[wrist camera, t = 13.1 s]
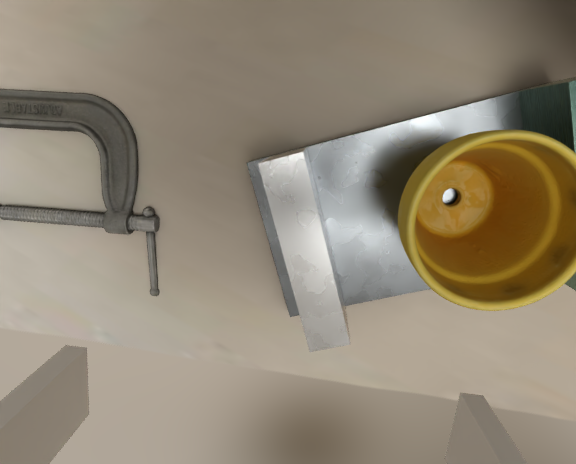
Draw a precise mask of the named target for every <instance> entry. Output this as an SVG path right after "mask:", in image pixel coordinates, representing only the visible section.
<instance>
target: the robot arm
mask: <svg viewBox="0 0 576 464" xmlns="http://www.w3.org/2000/svg"><path fill="white" fill-rule="evenodd" d="M88 415H89V397H88V369H87V348H84V347H76V346H67V345H66V346H64V347H63V348H62V349H61V350H60V351H59V352H57V353H56V354H55V355H54V356H53V357H51V358H50V359H49V360H48V361H47V362H46V363H45V364H43V365H42V366H41V367H40V368H38V369H37V370H36V371H35V372H34V373H33V374H32V375H30V376H29V377H28V378H27V379H26V380H25V381H24V382H22V383H21V384H20V385H19V386H17V387H16V388H15V389H14V390H13V391H11V392H10V393H9V394H8V395H7V396H6V397H4V399H2V400H1V401H0V464H49V463H50V462H51V461H52V460H53V458H54V457H55V456H56V455H57V453H58V452H59V451H60V450H61V448H62V447H63V446H64V444H65V443H66V442H67V441H68V440H69V438H70V437H71V436H72V435H73V433H74V432H75V431H76V430H77V428H78V427H79V426H80V425H81V423H82V422H83V421H84V420H85V418H86V417H87V416H88ZM445 461H446V463H447V464H527V462H526V460H525V459H524V457H523V456H522V454H521V453H520V451H519V450H518V448H517V447H516V445H515V444H514V442H513V440H512V439H511V438H510V436H509V434H508V433H507V431H506V430H505V428H504V427H503V425H502V424H501V422H500V421H499V419H498V418H497V416H496V415H495V413H494V412H493V410H492V409H491V407H490V405H489V404H488V402H487V401H486V399H485V398H484V396H483V395H475V394H466V393H460V396H459V401H458V405H457V409H456V413H455V418H454V422H453V426H452V430H451V435H450V439H449V443H448V447H447V452H446V456H445Z"/></svg>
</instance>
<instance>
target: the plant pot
mask: <svg viewBox="0 0 576 464" xmlns="http://www.w3.org/2000/svg"><path fill="white" fill-rule="evenodd" d="M448 189H454V190H456V191H457V193H458V198H457V200H456V201H455V202H454V203H453V204H451V205H447V204H445V203H444V202H443V194H444V192H445V191H446V190H448ZM398 229H399V235H400V239H401V242H402V245H403V248H404V250H405V252H406V254H407V256H408V258H409V260H410V262H411V264H412V265H413V267H414V268H415V270H416V272H417V273H418V275H419V276H420V277H421V278H422V280H423V281H424V282H425V283H426V284H427V285H428V286H429V287H430V288H431V289H432V290H433V291H434V292H436V293H437V294H438V295H440V296H441V297H443V298H445V299H446V300H448V301H450V302H453V303H455V304H457V305H460V306H463V307H467V308H471V309H476V310H486V311H499V310H508V309H514V308H518V307H522V306H525V305H528V304H531V303H534V302H536V301H538V300H540V299H542V298H544V297H546V296H548V295H549V294H551V293H553V292H554V291H556V290H557V289H558V288H560V287H561V286H562V285H563V284H565V283H566V282H567V281H568V280H569V279H570V278H571V277H572V276H573V275H574V274H575V272H576V153H575V152H574V151H572V150H571V149H570V148H568V147H567V146H566V145H564V144H563V143H561V142H559V141H557V140H555V139H553V138H551V137H548V136H546V135H543V134H540V133H536V132H531V131H525V130H491V131H483V132H477V133H472V134H468V135H465V136H462V137H459V138H456V139H454V140H452V141H450V142H448V143H446V144H444V145H442V146H441V147H439V148H438V149H436V150H435V151H434V152H432V153H431V154H430V155H429V156H427V157H426V158H425V159H424V160H423V161H422V162H421V163H420V165H419V166H418V167H417V168H416V169H415V171H414V172H413V174H412V175H411V177H410V178H409V180H408V182H407V184H406V186H405V188H404V191H403V193H402V196H401V200H400V204H399V210H398Z"/></svg>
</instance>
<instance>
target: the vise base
mask: <svg viewBox="0 0 576 464" xmlns="http://www.w3.org/2000/svg"><path fill="white" fill-rule="evenodd" d="M491 130H525V131H531V132H536V133H540V134H543V135H546V136H548V137H551V138H553V139H555V140H557V141H559V142H561V143H563V144H564V145H566V146H567V147H568V148H570V149H571V150H572V151H574V152H575V153H576V77H574V78H569V79H564V80H559V81H554V82H549V83H545V84H542V85H538V86H534V87H530V88H526V89H523V90H519V91H515V92H511V93H508V94H504V95H500V96H496V97H492V98H489V99H485V100H481V101H477V102H473V103H470V104H466V105H462V106H458V107H454V108H451V109H447V110H443V111H439V112H435V113H432V114H428V115H424V116H420V117H416V118H413V119H409V120H405V121H401V122H397V123H394V124H390V125H386V126H382V127H378V128H375V129H371V130H367V131H363V132H360V133H356V134H352V135H348V136H344V137H341V138H337V139H333V140H329V141H325V142H322V143H318V144H314V145H310V146H306V147H303V148H307V152H308V156H309V160H310V164H311V168H312V172H313V176H314V180H315V184H316V188H317V193H318V197H319V201H320V205H321V209H322V213H323V217H324V221H325V225H326V229H327V233H328V238H329V242H330V246H331V250H332V254H333V258H334V262H335V266H336V270H337V274H338V278H339V283H340V287H341V291H342V295H343V299H344V303H345V306H347V305H352V304H357V303H362V302H367V301H372V300H377V299H382V298H387V297H392V296H397V295H402V294H407V293H412V292H417V291H422V290H427V289H431V288H430V287H429V286H428V285H427V284H426V283H425V282H424V281H423V280H422V278H421V277H420V276H419V275H418V273H417V272H416V270H415V268H414V267H413V265H412V264H411V262H410V260H409V258H408V256H407V254H406V252H405V250H404V248H403V245H402V242H401V239H400V235H399V229H398V210H399V204H400V200H401V196H402V193H403V191H404V188H405V186H406V184H407V182H408V180H409V178H410V177H411V175H412V174H413V172H414V171H415V169H416V168H417V167H418V166H419V165H420V163H421V162H422V161H423V160H424V159H425V158H426V157H427V156H429V155H430V154H431V153H432V152H434V151H435V150H436V149H438V148H439V147H441V146H442V145H444V144H446V143H448V142H450V141H452V140H454V139H456V138H459V137H462V136H465V135H468V134H472V133H477V132H483V131H491ZM299 149H302V148H299ZM295 150H298V149H295ZM291 151H294V150H291ZM287 152H290V151H287ZM287 152H284V153H287ZM280 154H283V153H280ZM276 155H279V154H276ZM272 156H275V155H272ZM269 157H271V156H268V157H265V158H261V159H257V160H253V161H250V162H247V166H248V170H249V173H250V177H251V180H252V184H253V187H254V191H255V194H256V198H257V202H258V205H259V209H260V212H261V216H262V219H263V223H264V226H265V230H266V233H267V237H268V240H269V244H270V248H271V251H272V255H273V258H274V262H275V265H276V269H277V272H278V276H279V279H280V283H281V286H282V290H283V294H284V297H285V301H286V304H287V308H288V311H289V315H290V317H292V316H297V315H300V314H299V311H298V307H297V303H296V300H295V296H294V293H293V289H292V285H291V282H290V278H289V274H288V271H287V267H286V264H285V260H284V256H283V253H282V249H281V246H280V242H279V238H278V235H277V231H276V227H275V224H274V220H273V217H272V213H271V209H270V206H269V202H268V198H267V195H266V191H265V188H264V184H263V180H262V177H261V173H260V169H259V166H258V163H260V162H262V161H263V160H265V159H267V158H269ZM457 198H458V193H457V191H456V190H454V189H448V190H446V191H445V192H444V194H443V202H444V203H445V204H447V205H451V204H453V203H454V202H455V201H456V200H457ZM565 284H566V285H568V286H569V287H571V288H572V289H574V290H575V291H576V272H575V274H574V275H573V276H572V277H571V278H570V279H569V280H568V281H567V282H566V283H565Z"/></svg>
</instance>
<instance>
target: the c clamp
mask: <svg viewBox="0 0 576 464" xmlns="http://www.w3.org/2000/svg"><path fill="white" fill-rule="evenodd" d="M0 127H7V128H21V129H39V130H57V131H78V132H82V133H84V134H86V135H88V136H89V137H90V138H91V139H92V140H93V141H94V143H95V144H96V146H97V148H98V151H99V153H100V163H101V182H102V196H103V200H104V203H105V206H106V208H107V211H106V213H100V212H98V213H97V212H89V211H88V212H86V211H84V212H83V211H75V210H74V211H73V210H62V209H60V210H59V209H52V208H51V209H49V208H38V207H37V208H35V207H33V208H32V207H22V206H10V205H9V206H8V205H5V206H2V205H0V218H1V219H3V220H14V221H24V222H25V221H27V222H37V223H50V224H64V225H66V224H67V225H75V226H76V225H77V226H88V227H90V226H91V227H102V228H104V229H105V231H106V232H108V233H116V234H131V233H132V232H133V231H134V230H137V231H138V230H139V231H146V235H147V247H148V259H149V271H150V282H151V289H150V294H151V295H152V296H157V295H159V289H158V277H157V263H156V251H155V239H154V237H155V235H154V232H157V231H158V229H159V218H158V217H157V216H155V215H154V210H153V209H152V208H151V207H148V208H145V209H144V210H143V215H142V216H141V215H140V216H138V215H133V212H132V206H133V203H134V198H135V193H136V186H137V172H138V160H137V142H136V138H135V134H134V132H133V129H132V127H131V125H130V123H129V121H128V120H127V118H126V117H125V116H124V114H123V113H122V112H121V111H120V110H119V109H118V108H117V107H116V106H115V105H113V104H112V103H110V102H109V101H107V100H105V99H103V98H101V97H98V96H95V95H92V94H85V93H67V92H46V91H27V90H8V89H0Z"/></svg>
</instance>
